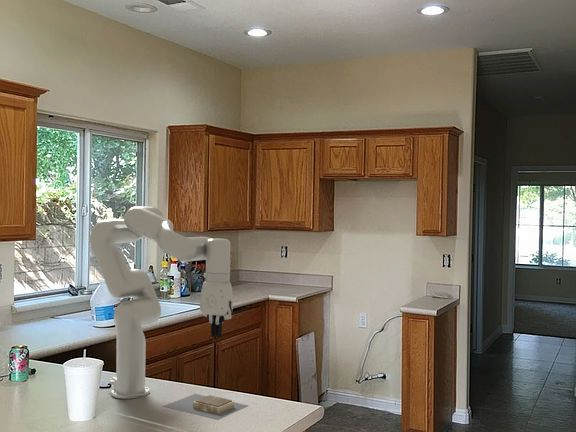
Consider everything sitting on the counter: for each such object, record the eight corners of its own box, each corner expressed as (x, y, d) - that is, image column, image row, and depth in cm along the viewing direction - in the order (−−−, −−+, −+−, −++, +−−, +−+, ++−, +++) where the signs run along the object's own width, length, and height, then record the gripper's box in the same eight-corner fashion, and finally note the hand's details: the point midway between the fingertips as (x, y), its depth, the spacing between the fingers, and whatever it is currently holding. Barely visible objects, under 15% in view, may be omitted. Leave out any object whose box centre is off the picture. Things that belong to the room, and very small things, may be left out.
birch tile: (193, 400, 197) (218, 406, 192) (209, 394, 204) (234, 400, 199) (193, 408, 197) (218, 414, 192) (209, 401, 204) (234, 407, 199)
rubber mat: (162, 407, 199) (162, 406, 198) (195, 394, 212) (195, 393, 212) (217, 421, 187) (217, 419, 187) (248, 406, 201) (248, 405, 201)
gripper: (191, 277, 198) (190, 335, 198) (229, 281, 190) (228, 341, 190) (206, 275, 204) (205, 331, 204) (244, 279, 196) (242, 337, 197)
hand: (216, 336), depth 197 cm, fingers closed
